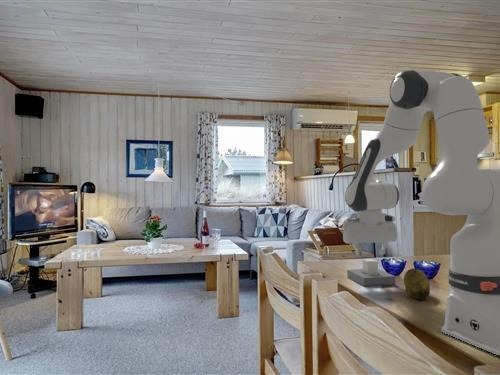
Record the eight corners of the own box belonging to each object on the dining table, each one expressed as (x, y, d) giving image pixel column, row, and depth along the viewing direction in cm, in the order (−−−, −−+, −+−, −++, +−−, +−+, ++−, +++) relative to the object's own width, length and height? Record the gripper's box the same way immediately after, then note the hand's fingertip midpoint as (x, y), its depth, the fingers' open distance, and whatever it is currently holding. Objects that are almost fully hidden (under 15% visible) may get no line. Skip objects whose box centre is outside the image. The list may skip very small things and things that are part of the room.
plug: (378, 280, 138) (377, 261, 138) (367, 281, 137) (367, 261, 137) (372, 277, 142) (372, 258, 142) (362, 278, 141) (362, 259, 141)
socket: (395, 284, 134) (395, 275, 134) (364, 286, 132) (363, 277, 132) (376, 275, 148) (375, 267, 148) (347, 277, 146) (347, 268, 146)
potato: (399, 299, 116) (399, 273, 116) (405, 289, 127) (405, 266, 127) (429, 303, 112) (428, 276, 112) (432, 292, 123) (432, 268, 123)
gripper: (346, 218, 135) (347, 257, 135) (398, 217, 138) (400, 254, 138) (339, 217, 141) (340, 254, 141) (389, 216, 144) (390, 252, 144)
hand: (370, 254), depth 139 cm, fingers open, 8 cm apart
